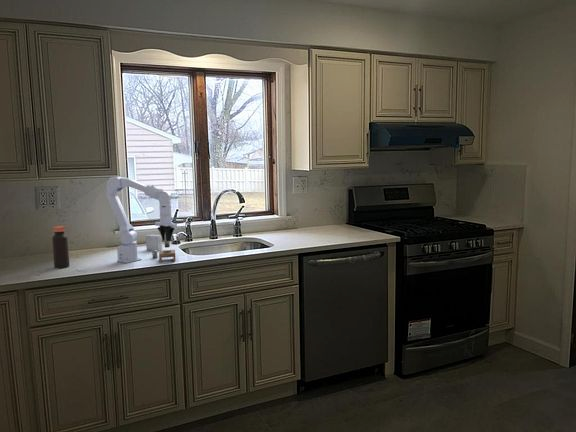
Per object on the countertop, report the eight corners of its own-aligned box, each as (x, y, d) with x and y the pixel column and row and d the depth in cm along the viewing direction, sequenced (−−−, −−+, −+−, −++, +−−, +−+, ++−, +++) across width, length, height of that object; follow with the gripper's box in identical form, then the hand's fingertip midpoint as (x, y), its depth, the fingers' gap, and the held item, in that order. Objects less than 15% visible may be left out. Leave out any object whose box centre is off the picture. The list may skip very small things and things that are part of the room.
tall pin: (167, 247, 242) (166, 232, 241) (163, 247, 244) (162, 231, 242) (170, 246, 244) (170, 231, 243) (167, 246, 246) (166, 231, 245)
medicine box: (162, 249, 273) (162, 234, 272) (158, 251, 269) (157, 236, 268) (150, 248, 275) (149, 234, 274) (146, 250, 271) (145, 235, 270)
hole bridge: (175, 261, 241) (175, 253, 241) (159, 262, 239) (159, 253, 239) (175, 258, 250) (174, 249, 249) (159, 258, 248) (159, 250, 247)
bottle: (71, 265, 235) (69, 225, 233) (65, 268, 229) (63, 227, 226) (58, 265, 235) (55, 225, 233) (51, 268, 228) (48, 228, 226)
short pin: (154, 258, 249) (154, 251, 248) (151, 258, 250) (151, 250, 250) (158, 257, 251) (158, 250, 250) (155, 257, 252) (155, 250, 252)
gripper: (181, 214, 241) (182, 240, 242) (162, 212, 249) (163, 238, 251) (170, 216, 235) (171, 242, 237) (151, 214, 243) (152, 240, 245)
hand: (166, 240), depth 243 cm, fingers closed on tall pin, 3 cm apart
